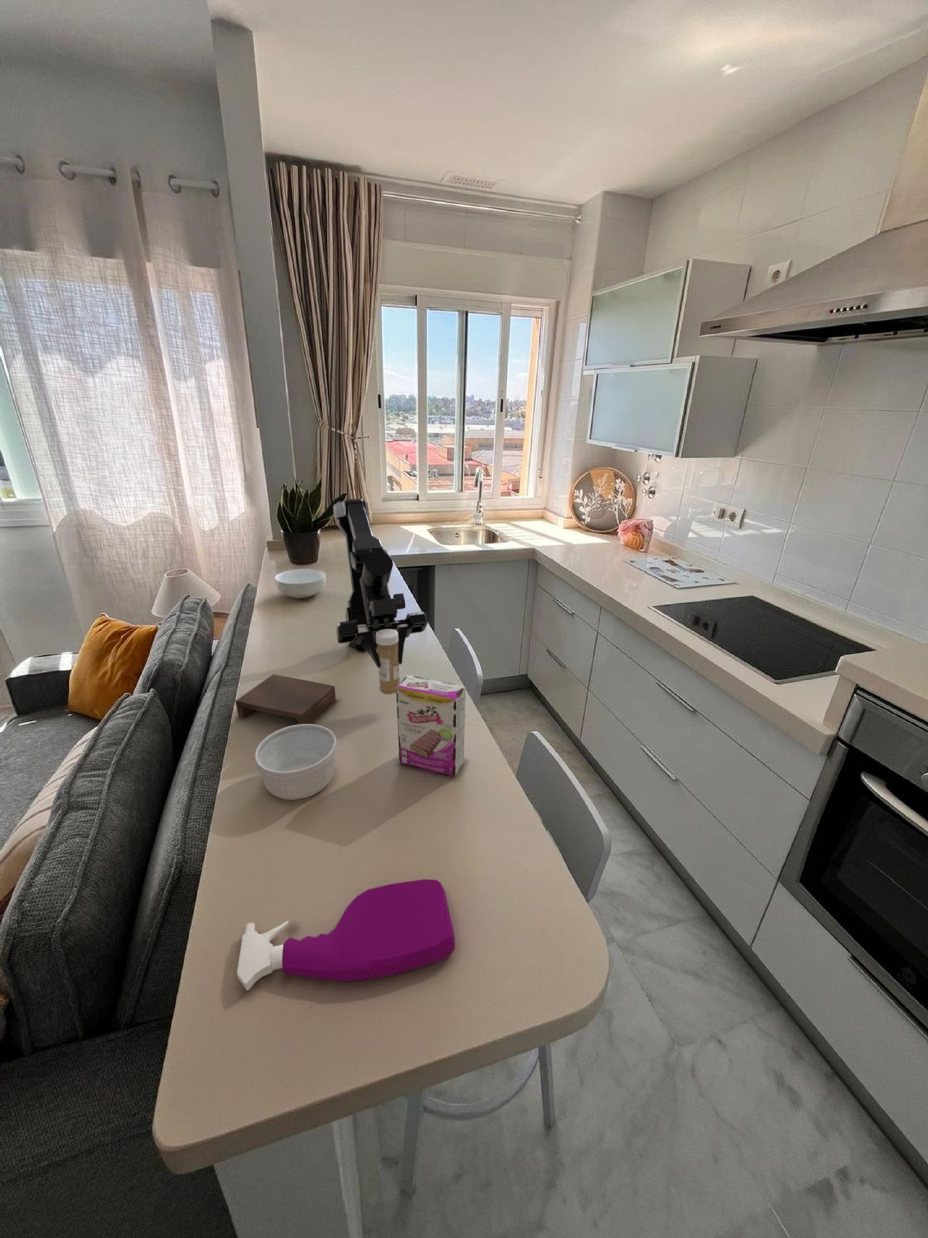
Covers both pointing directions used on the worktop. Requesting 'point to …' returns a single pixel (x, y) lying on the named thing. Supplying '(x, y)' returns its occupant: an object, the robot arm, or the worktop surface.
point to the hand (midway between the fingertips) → (389, 665)
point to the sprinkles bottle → (388, 660)
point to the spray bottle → (361, 938)
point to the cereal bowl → (300, 582)
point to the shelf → (288, 698)
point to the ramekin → (297, 760)
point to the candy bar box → (431, 724)
